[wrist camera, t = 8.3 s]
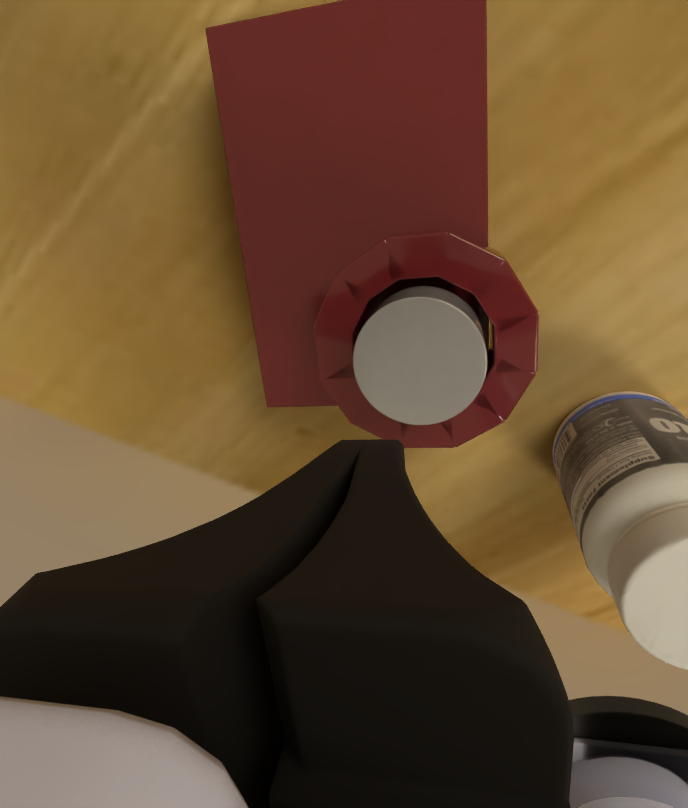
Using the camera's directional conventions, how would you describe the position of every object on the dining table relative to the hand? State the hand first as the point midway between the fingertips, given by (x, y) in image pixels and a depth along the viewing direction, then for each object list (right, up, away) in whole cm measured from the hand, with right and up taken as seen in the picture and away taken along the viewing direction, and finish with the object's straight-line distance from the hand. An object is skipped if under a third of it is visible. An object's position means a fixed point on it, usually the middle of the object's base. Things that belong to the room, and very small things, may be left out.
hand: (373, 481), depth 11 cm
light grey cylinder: (+2, +3, +5) cm, 6 cm away
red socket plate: (0, +8, +7) cm, 11 cm away
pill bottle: (+9, 0, +8) cm, 13 cm away
